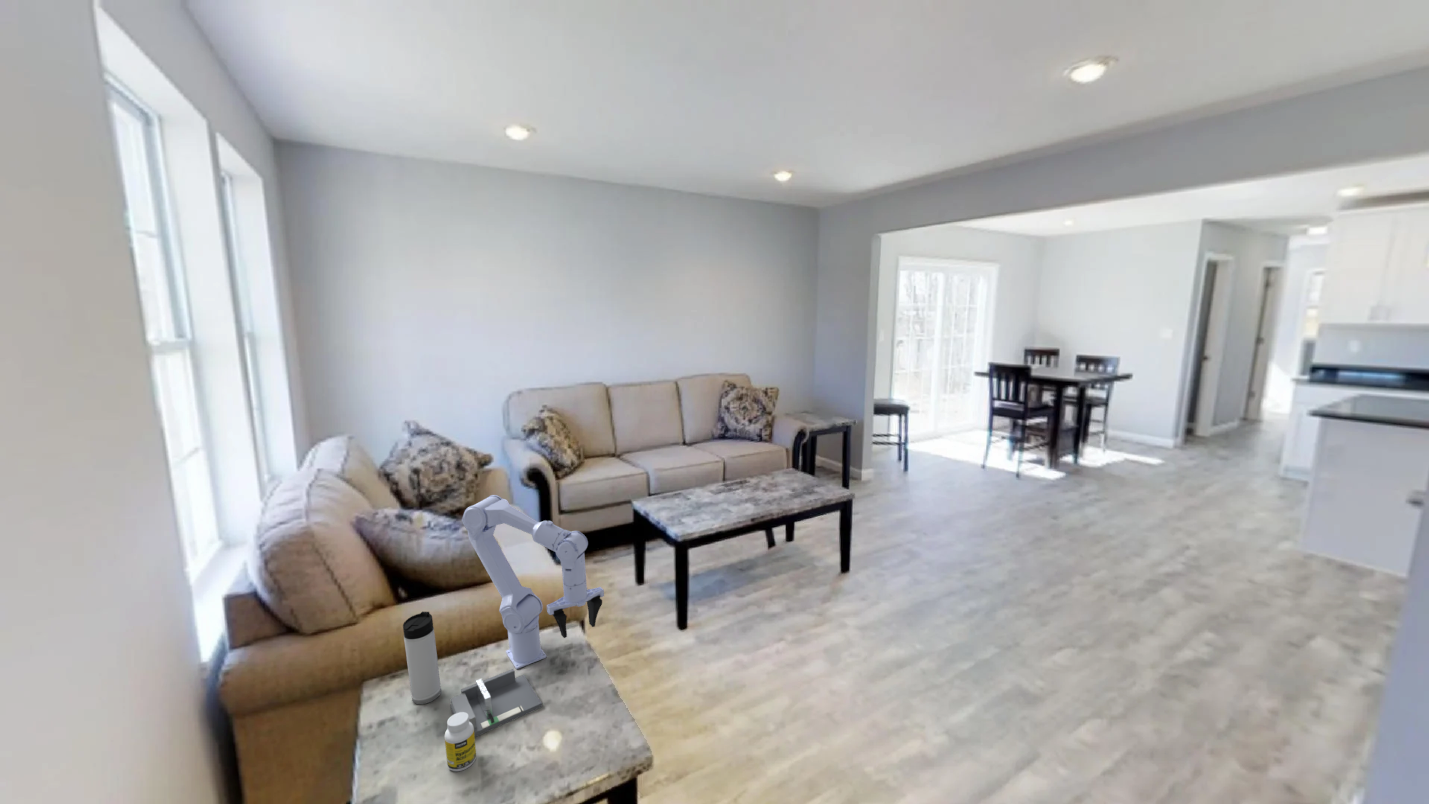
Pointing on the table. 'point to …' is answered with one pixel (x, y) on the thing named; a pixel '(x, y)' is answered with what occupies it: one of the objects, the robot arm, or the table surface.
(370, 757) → the table surface
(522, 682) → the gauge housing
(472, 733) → the supplement bottle
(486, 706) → the paddle
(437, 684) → the travel mug
